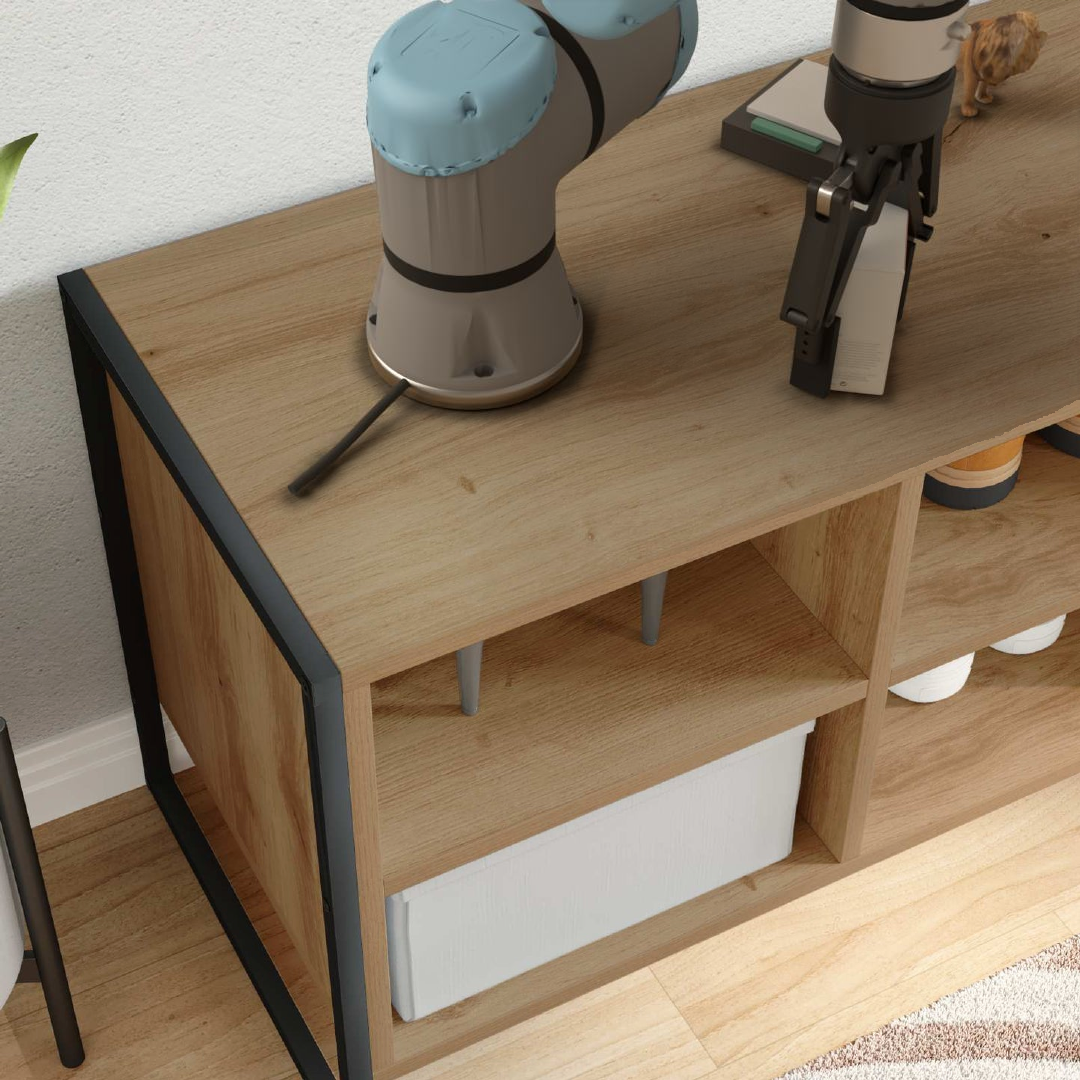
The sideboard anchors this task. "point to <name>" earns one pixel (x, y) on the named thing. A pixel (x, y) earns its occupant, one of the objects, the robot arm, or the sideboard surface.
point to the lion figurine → (997, 54)
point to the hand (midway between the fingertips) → (846, 350)
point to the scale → (787, 124)
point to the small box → (871, 305)
